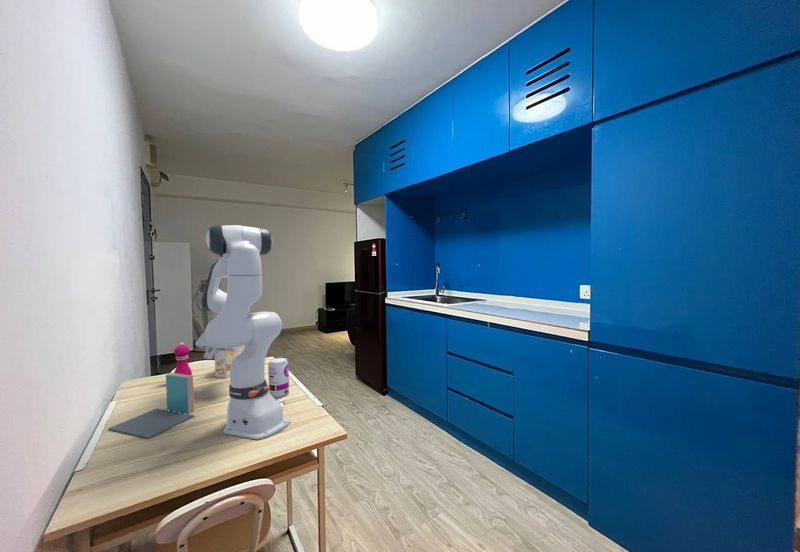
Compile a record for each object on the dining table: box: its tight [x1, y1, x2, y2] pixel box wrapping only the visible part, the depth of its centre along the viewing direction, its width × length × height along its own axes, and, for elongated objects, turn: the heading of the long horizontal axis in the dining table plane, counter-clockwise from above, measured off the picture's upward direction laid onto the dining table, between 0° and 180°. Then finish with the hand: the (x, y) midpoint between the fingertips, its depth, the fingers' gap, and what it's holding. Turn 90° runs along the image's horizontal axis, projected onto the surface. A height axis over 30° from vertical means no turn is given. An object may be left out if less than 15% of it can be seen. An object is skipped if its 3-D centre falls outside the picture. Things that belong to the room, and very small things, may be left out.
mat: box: [108, 407, 195, 440], centre depth 115 cm, size 16×20×1 cm
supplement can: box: [267, 357, 290, 398], centre depth 139 cm, size 8×8×15 cm
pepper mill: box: [173, 341, 193, 376], centre depth 153 cm, size 7×7×20 cm
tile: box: [165, 372, 195, 414], centre depth 125 cm, size 2×11×14 cm, turn 72°
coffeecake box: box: [214, 345, 245, 379], centre depth 168 cm, size 15×7×20 cm, turn 168°
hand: (207, 358), depth 136 cm, fingers closed
